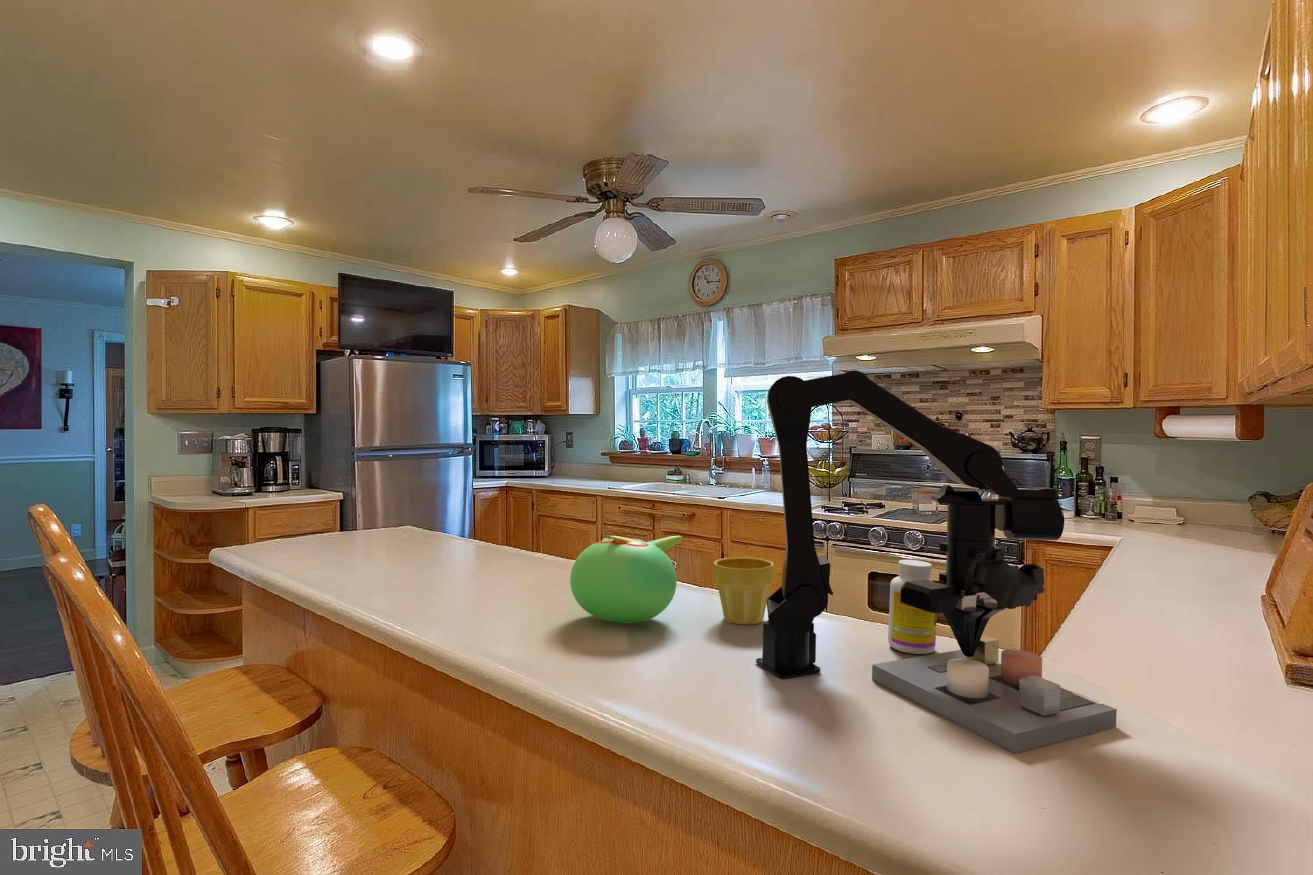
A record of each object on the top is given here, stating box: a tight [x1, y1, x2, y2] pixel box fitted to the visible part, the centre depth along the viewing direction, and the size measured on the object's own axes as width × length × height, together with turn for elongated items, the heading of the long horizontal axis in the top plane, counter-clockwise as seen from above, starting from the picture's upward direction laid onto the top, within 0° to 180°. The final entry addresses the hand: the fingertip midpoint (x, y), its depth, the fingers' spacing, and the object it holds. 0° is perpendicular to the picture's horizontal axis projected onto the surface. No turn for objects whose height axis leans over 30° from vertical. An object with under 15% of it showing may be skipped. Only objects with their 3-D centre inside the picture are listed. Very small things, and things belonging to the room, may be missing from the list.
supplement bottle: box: [887, 559, 938, 655], centre depth 99 cm, size 7×7×13 cm
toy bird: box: [569, 535, 683, 624], centre depth 112 cm, size 18×17×15 cm
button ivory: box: [947, 658, 989, 698], centre depth 78 cm, size 4×4×3 cm
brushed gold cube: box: [966, 634, 1000, 665], centre depth 88 cm, size 2×3×3 cm
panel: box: [871, 649, 1118, 754], centre depth 80 cm, size 16×21×2 cm
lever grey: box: [1018, 675, 1061, 716], centre depth 73 cm, size 2×3×3 cm
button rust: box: [1000, 648, 1043, 685], centre depth 81 cm, size 4×4×3 cm
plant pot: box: [712, 556, 775, 626], centre depth 113 cm, size 10×10×10 cm
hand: (968, 655), depth 87 cm, fingers closed
